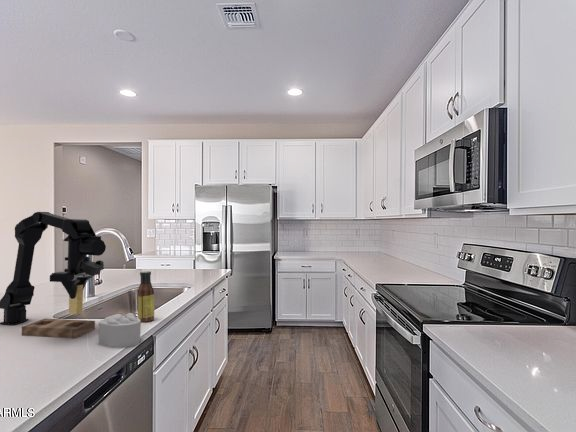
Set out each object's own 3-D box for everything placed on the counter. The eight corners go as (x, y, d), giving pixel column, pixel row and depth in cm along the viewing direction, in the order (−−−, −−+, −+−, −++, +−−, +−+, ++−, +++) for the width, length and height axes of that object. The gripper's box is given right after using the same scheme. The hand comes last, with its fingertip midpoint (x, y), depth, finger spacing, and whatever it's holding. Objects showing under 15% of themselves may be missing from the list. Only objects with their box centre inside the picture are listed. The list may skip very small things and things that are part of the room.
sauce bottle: (157, 318, 142) (158, 270, 142) (149, 323, 135) (150, 272, 136) (142, 317, 142) (143, 270, 142) (133, 322, 136) (135, 272, 136)
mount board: (21, 335, 119) (21, 326, 119) (44, 326, 129) (44, 318, 129) (75, 338, 117) (76, 329, 117) (94, 328, 127) (94, 320, 127)
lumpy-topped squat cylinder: (119, 334, 122) (119, 310, 122) (148, 339, 117) (148, 314, 117) (93, 344, 112) (94, 317, 112) (124, 350, 107) (125, 322, 108)
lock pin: (68, 313, 121) (69, 285, 121) (74, 311, 124) (75, 284, 124) (76, 314, 121) (77, 286, 121) (82, 312, 124) (83, 284, 124)
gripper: (80, 257, 113) (79, 305, 112) (113, 252, 131) (112, 293, 131) (49, 256, 114) (47, 303, 113) (86, 251, 132) (85, 291, 132)
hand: (76, 297), depth 122 cm, fingers closed on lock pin, 3 cm apart
